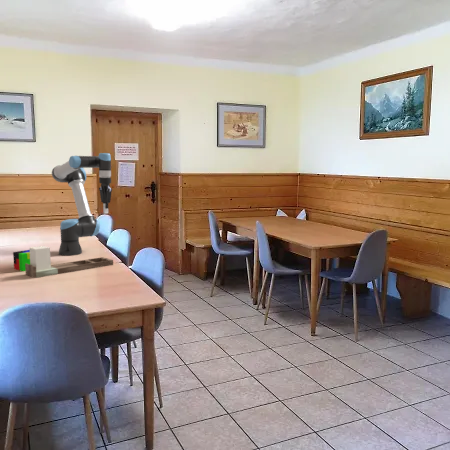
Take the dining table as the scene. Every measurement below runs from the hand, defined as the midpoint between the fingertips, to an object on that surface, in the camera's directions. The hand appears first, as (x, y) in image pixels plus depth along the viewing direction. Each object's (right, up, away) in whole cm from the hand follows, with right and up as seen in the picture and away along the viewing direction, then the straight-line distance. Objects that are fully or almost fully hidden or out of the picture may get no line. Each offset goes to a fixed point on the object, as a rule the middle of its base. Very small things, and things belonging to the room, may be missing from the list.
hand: (105, 213), depth 299 cm
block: (-24, -32, -45) cm, 61 cm away
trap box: (-12, -34, -33) cm, 48 cm away
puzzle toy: (-39, -34, -31) cm, 60 cm away
